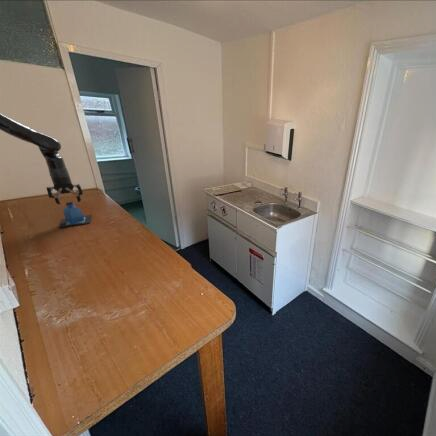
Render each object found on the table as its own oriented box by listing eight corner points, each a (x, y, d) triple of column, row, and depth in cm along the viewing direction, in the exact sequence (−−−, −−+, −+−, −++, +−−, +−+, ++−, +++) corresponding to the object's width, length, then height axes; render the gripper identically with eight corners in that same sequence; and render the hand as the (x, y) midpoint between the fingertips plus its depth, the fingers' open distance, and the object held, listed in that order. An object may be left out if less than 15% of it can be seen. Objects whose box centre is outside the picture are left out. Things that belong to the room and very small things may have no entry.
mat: (59, 228, 131) (59, 227, 131) (63, 220, 141) (62, 219, 140) (89, 223, 138) (89, 222, 138) (90, 216, 148) (90, 215, 147)
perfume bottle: (72, 223, 135) (65, 204, 130) (66, 221, 138) (59, 202, 133) (84, 220, 140) (78, 201, 136) (79, 218, 143) (72, 199, 138)
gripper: (77, 172, 135) (85, 199, 141) (43, 175, 127) (53, 202, 134) (76, 175, 129) (84, 203, 136) (40, 178, 122) (51, 206, 128)
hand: (69, 202), depth 135 cm, fingers open, 8 cm apart
